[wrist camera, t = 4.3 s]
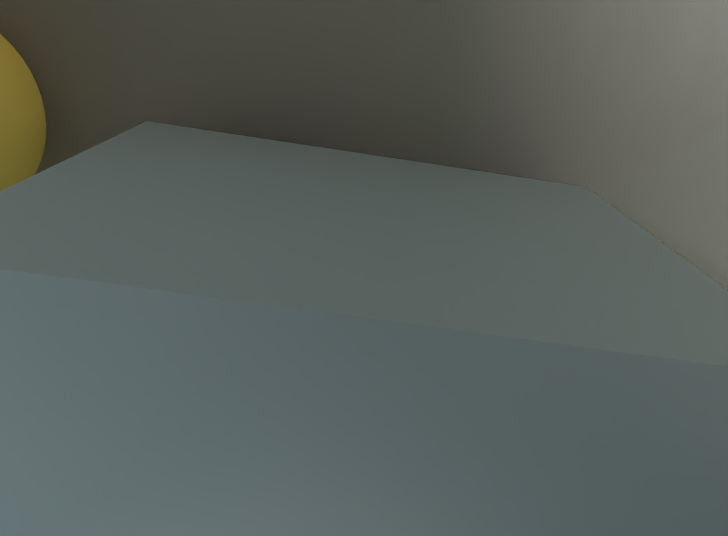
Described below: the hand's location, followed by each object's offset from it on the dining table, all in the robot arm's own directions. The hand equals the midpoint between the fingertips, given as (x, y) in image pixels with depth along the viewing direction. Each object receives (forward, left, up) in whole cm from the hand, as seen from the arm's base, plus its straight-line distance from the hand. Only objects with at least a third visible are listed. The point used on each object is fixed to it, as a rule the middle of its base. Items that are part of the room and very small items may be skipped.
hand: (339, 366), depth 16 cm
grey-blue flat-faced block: (0, 0, -1) cm, 1 cm away
